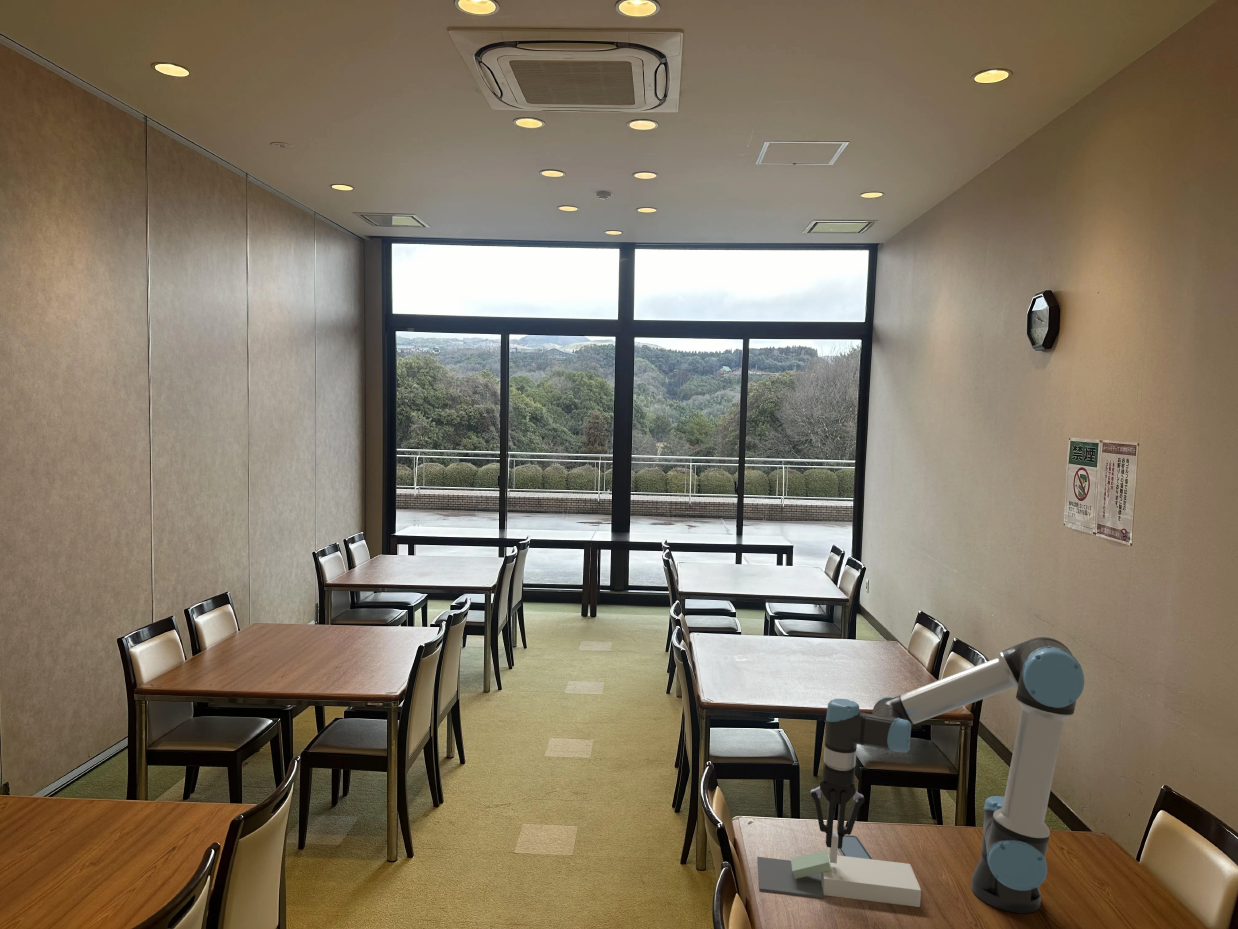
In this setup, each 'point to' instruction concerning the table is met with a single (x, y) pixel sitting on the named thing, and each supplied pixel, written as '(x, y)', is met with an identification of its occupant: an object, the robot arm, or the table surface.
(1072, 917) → the table surface
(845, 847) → the smartphone
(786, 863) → the mat
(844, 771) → the robot arm
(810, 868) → the tile
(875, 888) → the board
